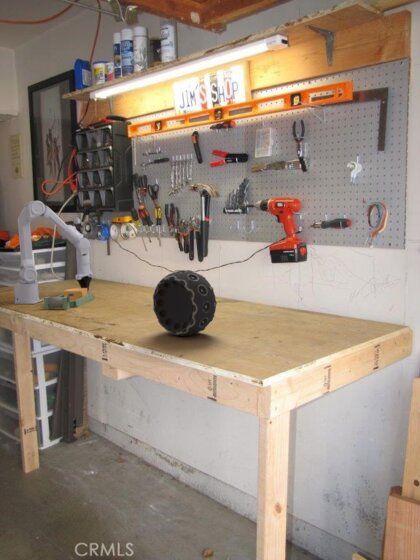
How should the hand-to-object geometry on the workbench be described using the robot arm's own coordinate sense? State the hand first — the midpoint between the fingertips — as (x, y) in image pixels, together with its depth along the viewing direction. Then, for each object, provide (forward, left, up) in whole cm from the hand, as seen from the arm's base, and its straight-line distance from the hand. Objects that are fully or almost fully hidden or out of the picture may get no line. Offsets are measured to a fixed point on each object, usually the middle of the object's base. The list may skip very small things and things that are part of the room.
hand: (85, 293), depth 233 cm
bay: (0, -18, -1) cm, 18 cm away
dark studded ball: (+61, -66, -2) cm, 90 cm away
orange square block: (0, -10, -2) cm, 10 cm away
